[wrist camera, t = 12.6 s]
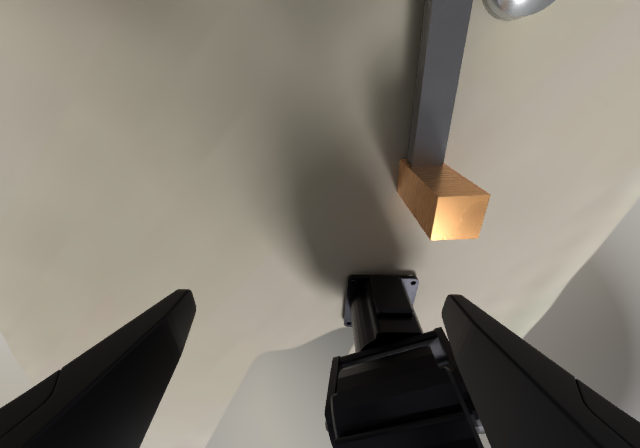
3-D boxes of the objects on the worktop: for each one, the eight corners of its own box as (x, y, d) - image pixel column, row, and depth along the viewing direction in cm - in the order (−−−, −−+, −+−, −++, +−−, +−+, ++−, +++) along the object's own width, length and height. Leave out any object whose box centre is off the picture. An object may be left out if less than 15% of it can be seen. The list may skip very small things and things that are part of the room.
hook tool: (492, 187, 20) (569, 234, 14) (396, 191, 20) (430, 240, 14) (582, -129, 12) (848, -342, 6) (427, -117, 12) (531, -311, 6)
